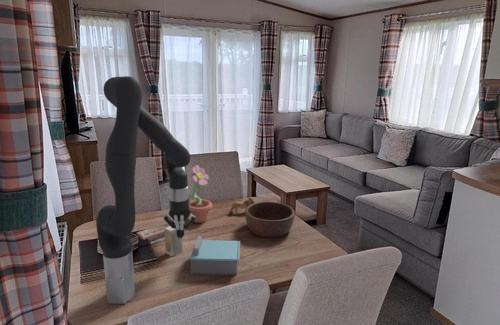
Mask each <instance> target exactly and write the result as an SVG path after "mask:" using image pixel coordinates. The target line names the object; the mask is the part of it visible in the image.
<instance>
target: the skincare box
mask: <svg viewBox="0 0 500 325" xmlns="http://www.w3.org/2000/svg"><path fill="white" fill-rule="evenodd" d="M164 230H165V240H164V243H165V254H167V255H169V256H170V257H174V256H175V255H178V254H180V253H182V252H183V251H184V250H183V248H184V247H183V237H182V238H178V237H177V230H176V229H175V228H174V229H173V228H171V226H168V227H166V228H164Z"/></svg>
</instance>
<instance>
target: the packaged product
mask: <svg viewBox="0 0 500 325" xmlns="http://www.w3.org/2000/svg"><path fill="white" fill-rule="evenodd" d="M168 226H170V225H169V224H168V223H165V224H161V225H158V226H154V227H151V228H147V229H144V230H140V231H137V232H135V233H136V234H137V235H138V236H139V237H140V238H141V239H143V240H145V239H149V240H150V242H151V245H154V244H158V243H160V242H163V241H164V242H165V230H164V228H166V227H168ZM136 234H135V235H136Z"/></svg>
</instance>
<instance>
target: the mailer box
mask: <svg viewBox="0 0 500 325" xmlns="http://www.w3.org/2000/svg"><path fill="white" fill-rule="evenodd" d="M189 260H190V259H189ZM237 272H238V252H237V261H211V260H190V274H191V275H217V276H218V275H219V276H220V275H223V276H224V275H227V276H229V275H231V276H237V275H238V274H237Z"/></svg>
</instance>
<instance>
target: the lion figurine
mask: <svg viewBox="0 0 500 325" xmlns="http://www.w3.org/2000/svg"><path fill="white" fill-rule="evenodd" d="M255 201H256V200H255V197H252V196H250V197H248V199H246V200H245V201H243V202H241V201H235V202H233V203H232V205H231V209H230V210H229V212H228V214H231V213H236V215H239V212H238V209H244V210H245V209H246V207H247V206H249V205H251V204H253V203H256V202H255Z"/></svg>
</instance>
